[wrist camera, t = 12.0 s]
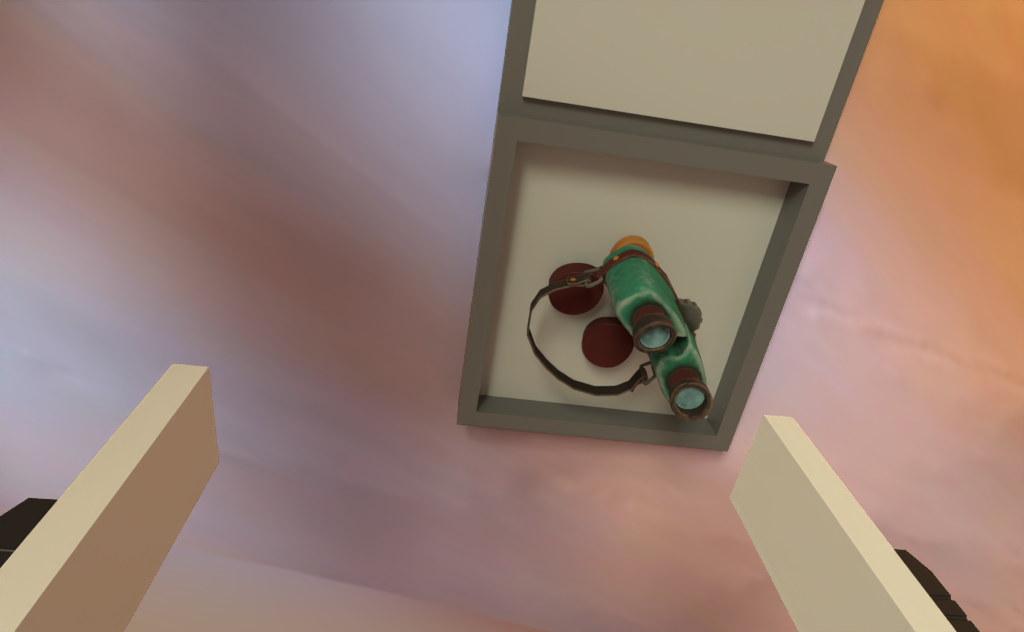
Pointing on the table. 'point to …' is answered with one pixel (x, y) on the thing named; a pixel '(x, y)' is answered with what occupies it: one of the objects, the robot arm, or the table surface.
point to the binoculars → (633, 326)
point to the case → (652, 194)
